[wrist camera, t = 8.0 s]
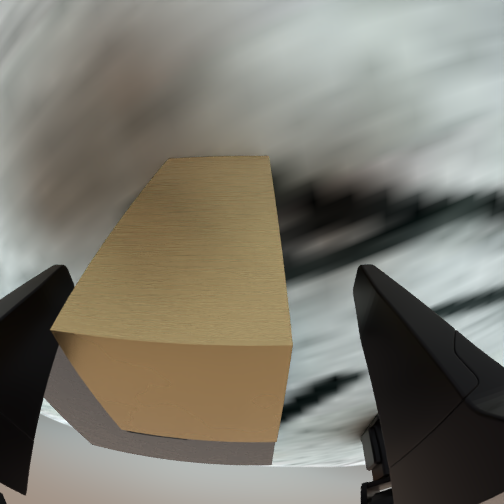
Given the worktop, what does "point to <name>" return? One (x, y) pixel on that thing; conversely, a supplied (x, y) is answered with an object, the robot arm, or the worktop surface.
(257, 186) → the brass peg
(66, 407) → the post plate
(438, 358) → the robot arm
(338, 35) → the worktop surface
